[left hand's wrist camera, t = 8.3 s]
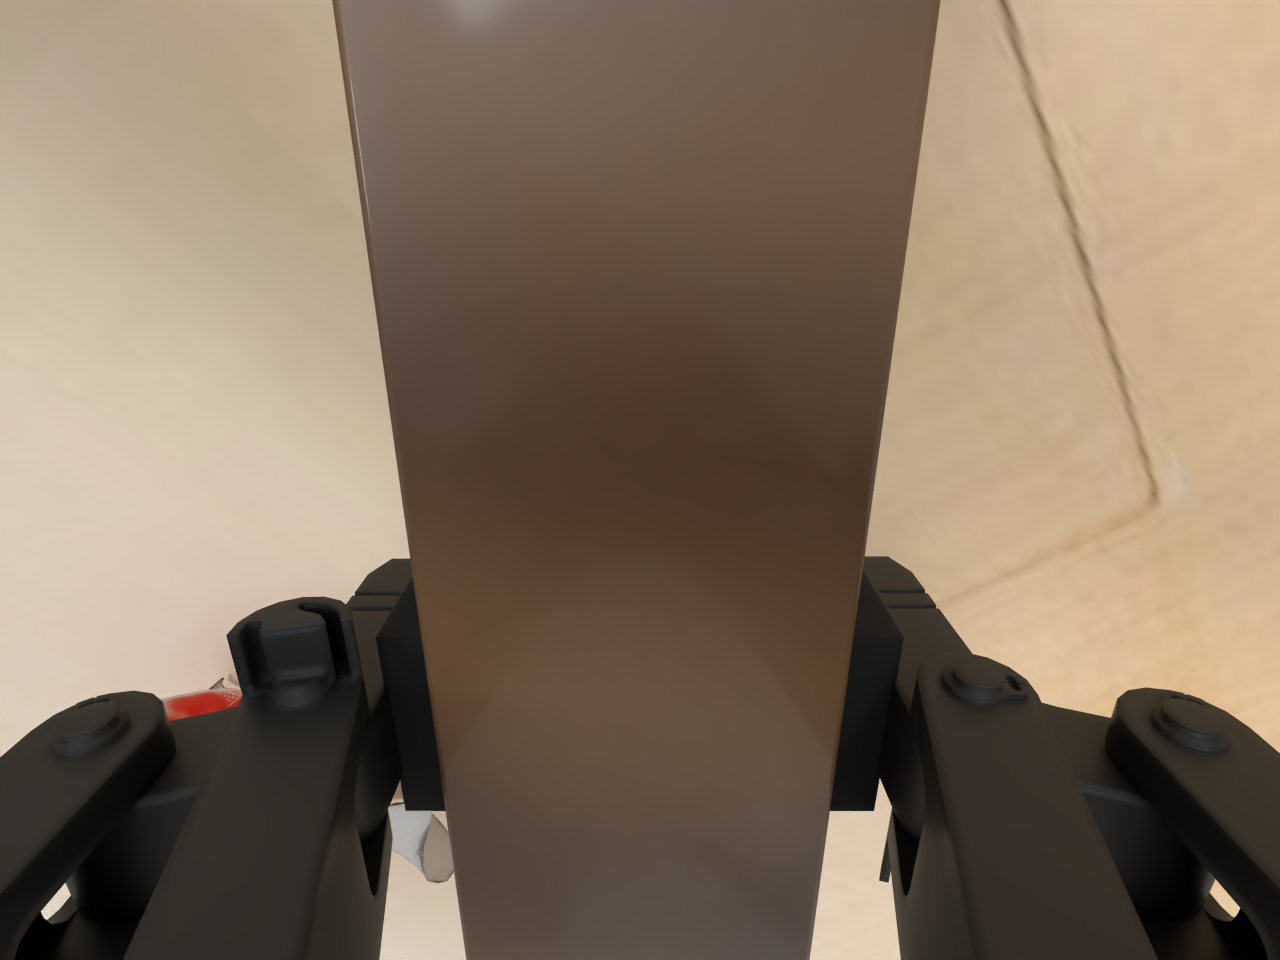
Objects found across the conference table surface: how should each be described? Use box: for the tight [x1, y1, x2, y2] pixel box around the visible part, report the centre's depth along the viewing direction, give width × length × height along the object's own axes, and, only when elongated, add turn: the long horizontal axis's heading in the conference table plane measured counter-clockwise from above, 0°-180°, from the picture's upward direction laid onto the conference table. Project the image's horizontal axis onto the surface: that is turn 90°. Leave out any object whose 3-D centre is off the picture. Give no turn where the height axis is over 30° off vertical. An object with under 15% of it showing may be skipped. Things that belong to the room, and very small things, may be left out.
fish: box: [161, 678, 454, 883], centre depth 29 cm, size 11×16×10 cm
